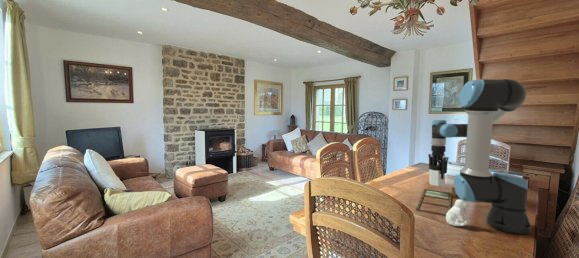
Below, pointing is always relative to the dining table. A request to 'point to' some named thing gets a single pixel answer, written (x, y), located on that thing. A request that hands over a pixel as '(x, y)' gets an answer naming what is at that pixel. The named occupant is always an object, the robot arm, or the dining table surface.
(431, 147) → the robot arm
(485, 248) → the dining table surface
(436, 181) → the jar
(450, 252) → the dining table surface
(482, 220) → the dining table surface
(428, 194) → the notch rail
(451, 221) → the white animal figurine
